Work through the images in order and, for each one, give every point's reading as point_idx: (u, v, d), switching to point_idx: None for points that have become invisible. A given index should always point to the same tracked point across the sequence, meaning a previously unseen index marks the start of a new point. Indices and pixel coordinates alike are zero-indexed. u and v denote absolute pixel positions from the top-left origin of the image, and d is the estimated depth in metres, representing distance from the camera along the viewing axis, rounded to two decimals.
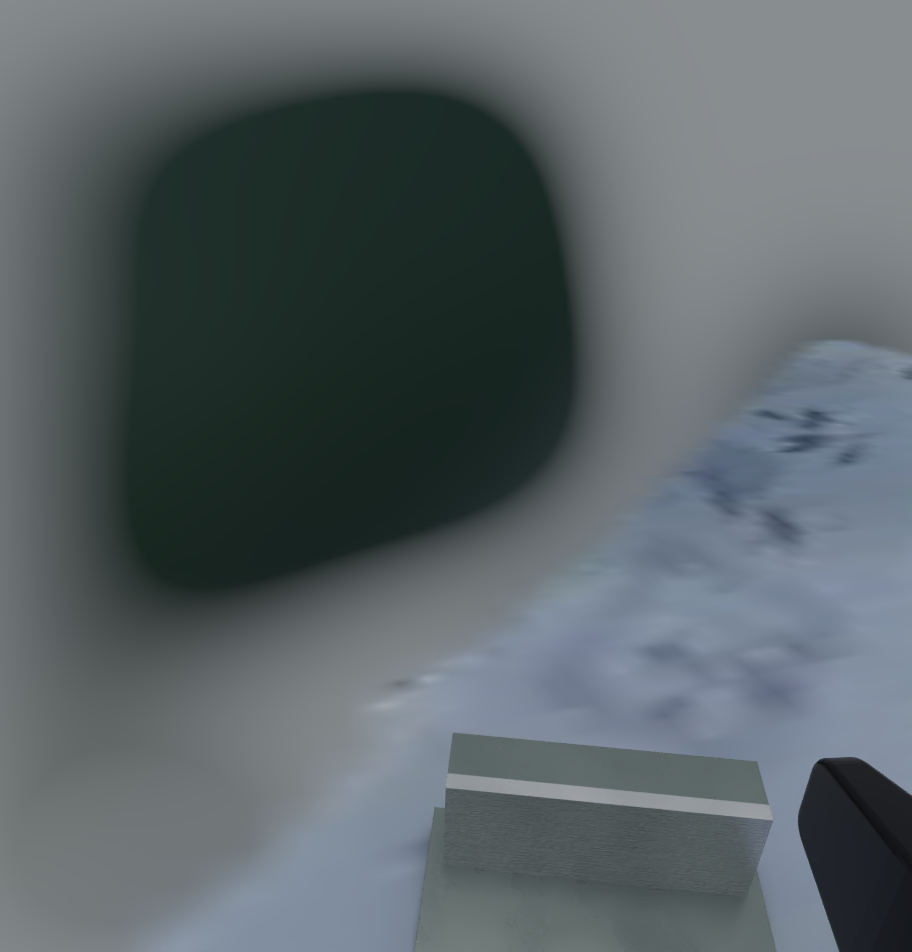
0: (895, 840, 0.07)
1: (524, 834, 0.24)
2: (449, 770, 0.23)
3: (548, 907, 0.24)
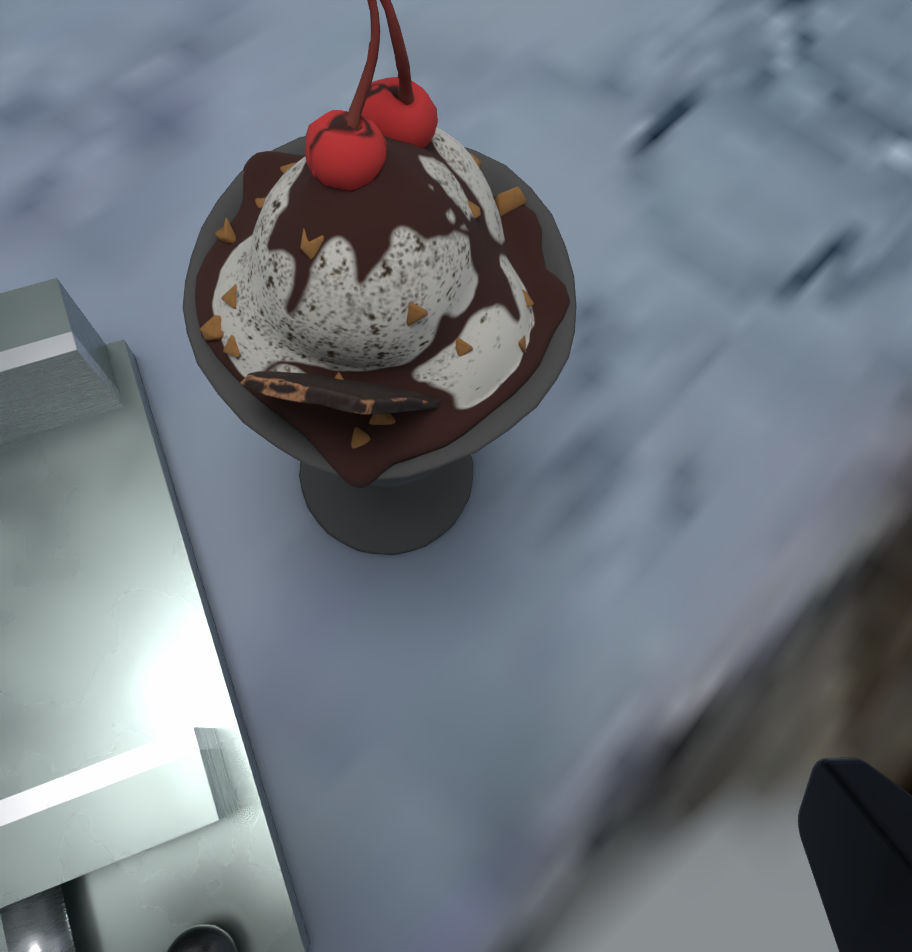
0: (895, 840, 0.07)
1: None
2: None
3: None
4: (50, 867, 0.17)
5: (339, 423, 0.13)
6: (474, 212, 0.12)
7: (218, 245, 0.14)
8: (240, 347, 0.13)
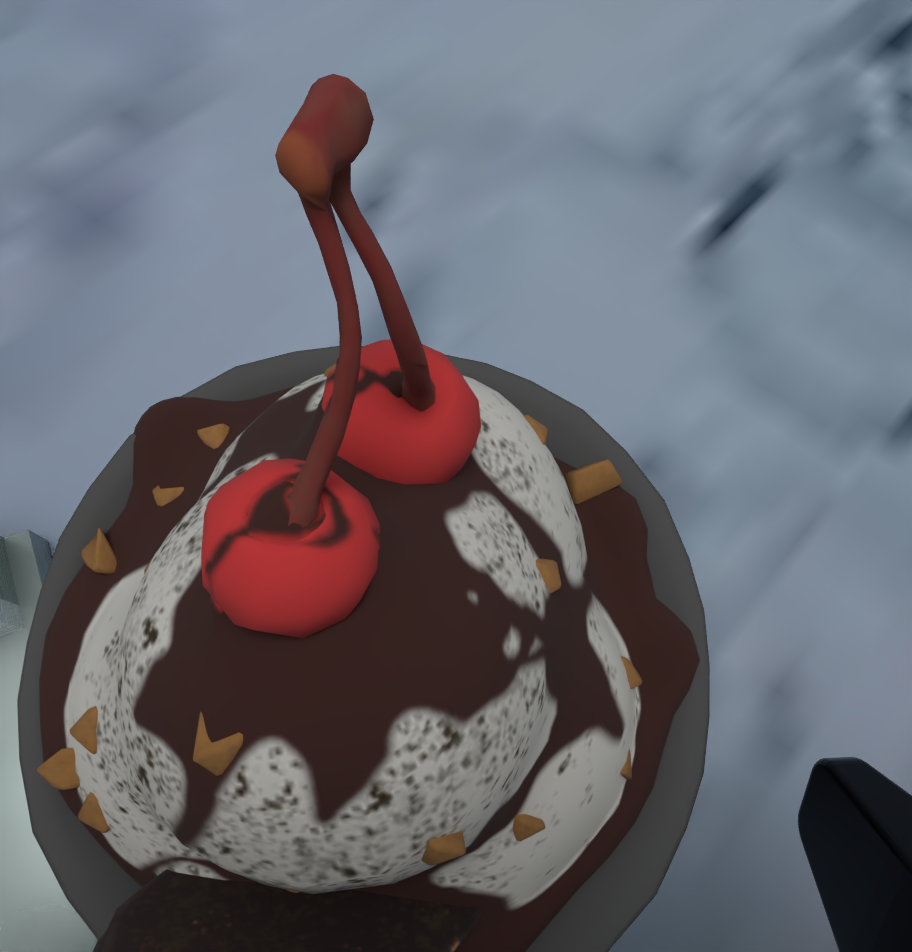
0: (895, 840, 0.07)
1: None
2: None
3: None
4: None
5: None
6: (550, 584, 0.06)
7: (85, 577, 0.08)
8: (108, 816, 0.07)
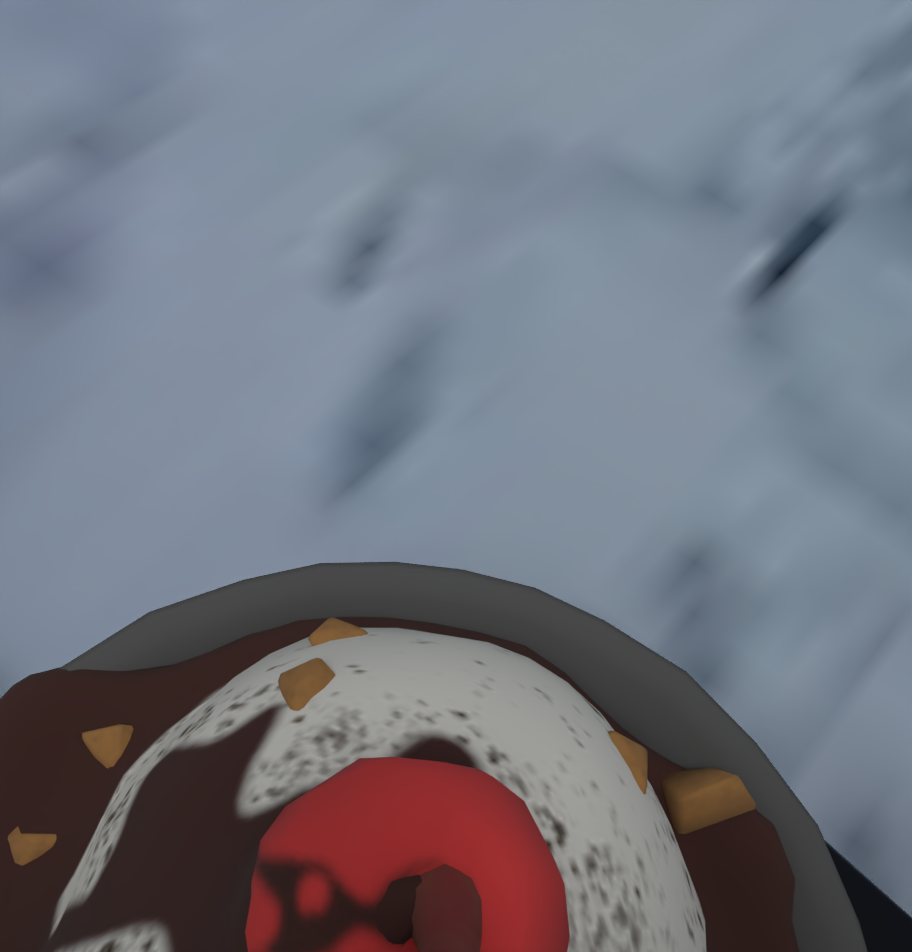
0: None
1: None
2: None
3: None
4: None
5: None
6: None
7: None
8: None
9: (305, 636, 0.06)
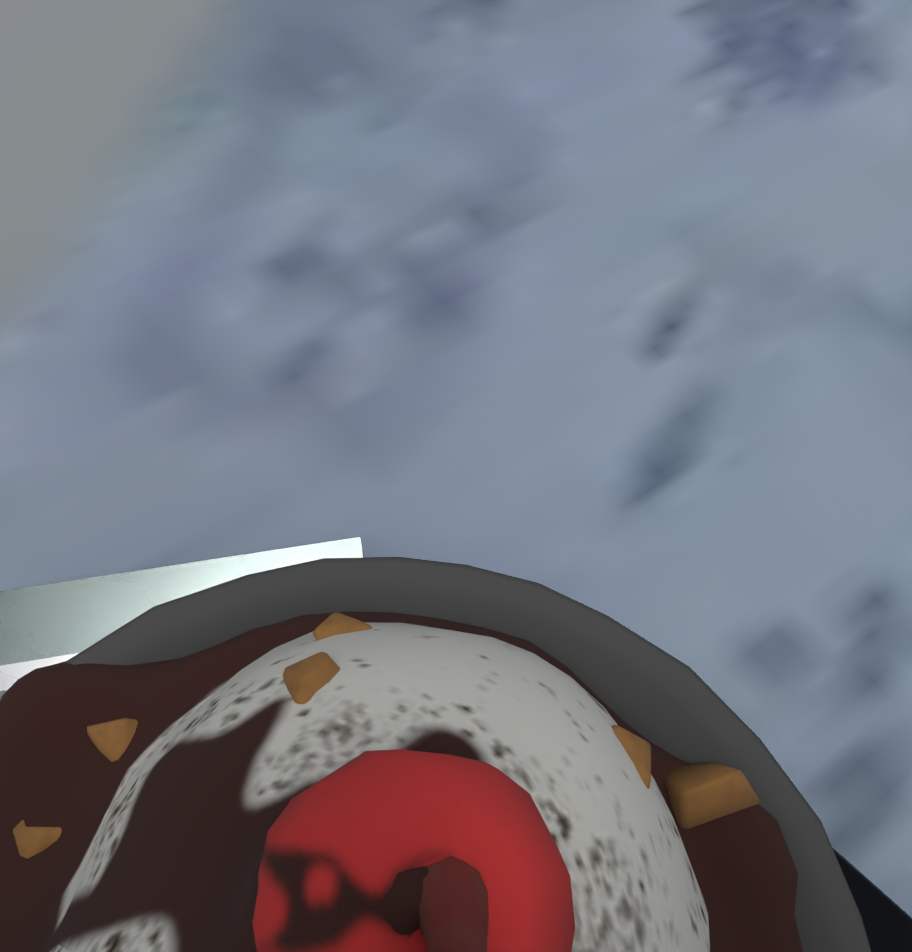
0: None
1: None
2: None
3: None
4: None
5: None
6: None
7: None
8: None
9: (309, 631, 0.06)
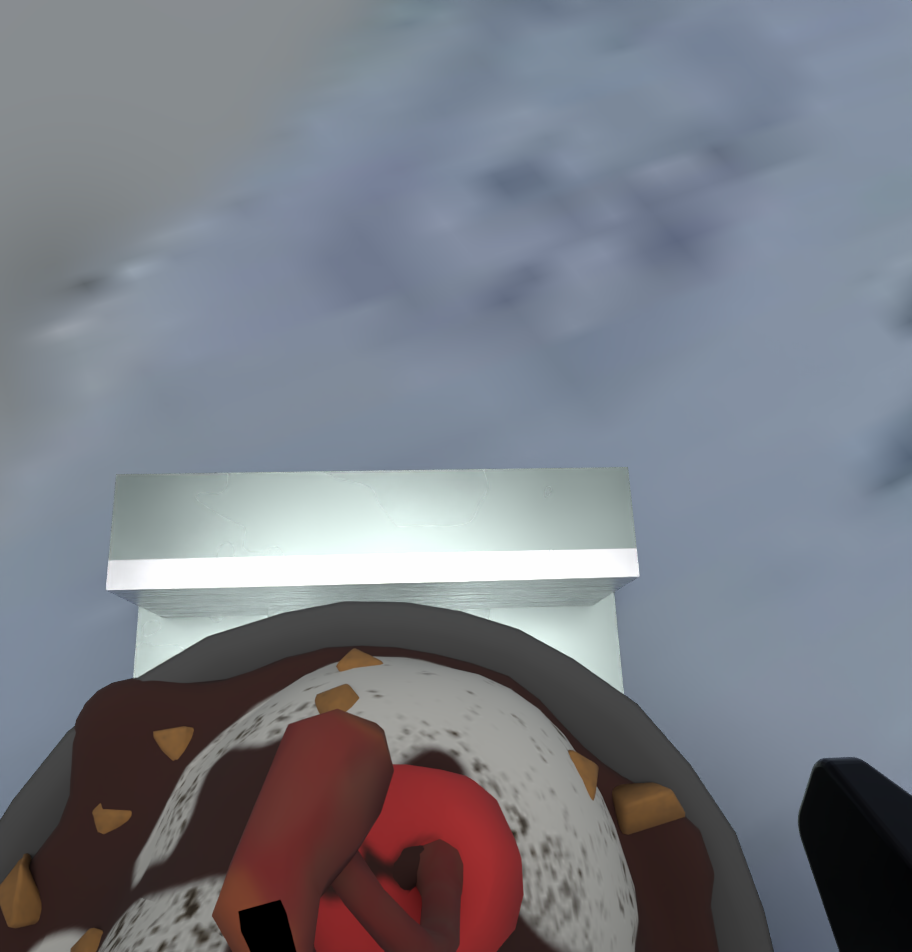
0: (895, 840, 0.07)
1: (263, 601, 0.15)
2: (111, 554, 0.14)
3: None
4: None
5: None
6: None
7: (1, 926, 0.06)
8: None
9: (331, 661, 0.07)
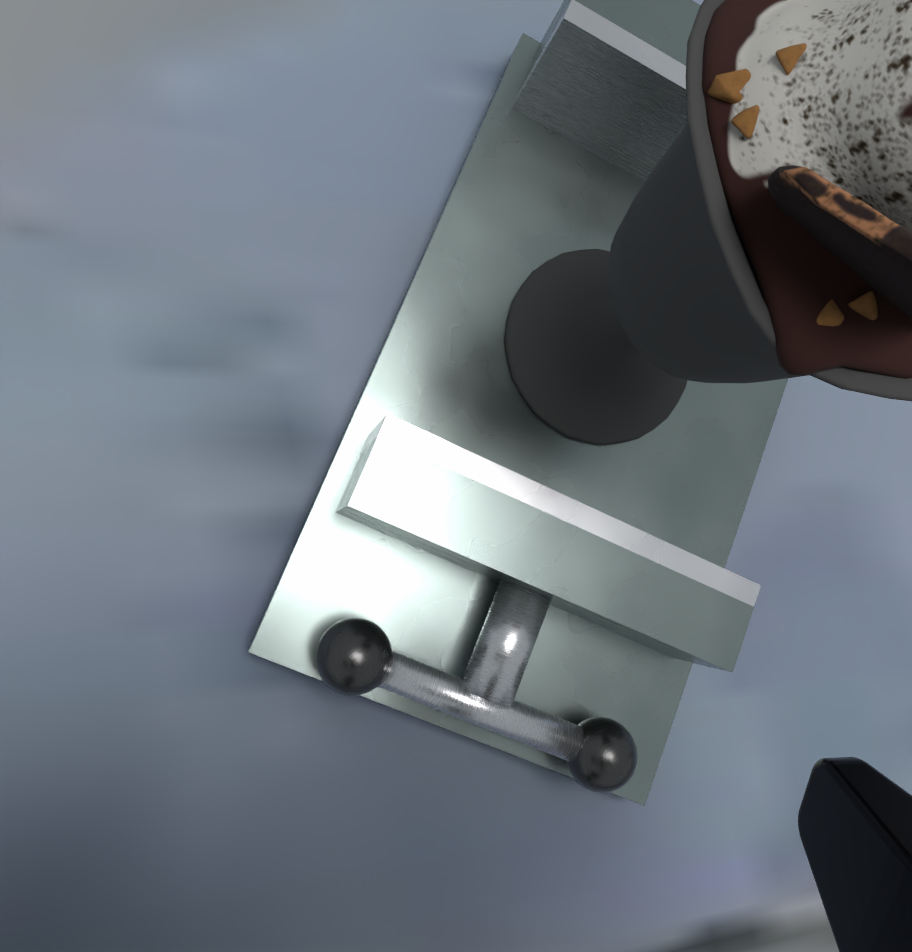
0: (895, 839, 0.07)
1: (623, 115, 0.19)
2: None
3: (608, 200, 0.21)
4: (601, 596, 0.17)
5: (815, 285, 0.10)
6: None
7: None
8: (758, 127, 0.09)
9: None
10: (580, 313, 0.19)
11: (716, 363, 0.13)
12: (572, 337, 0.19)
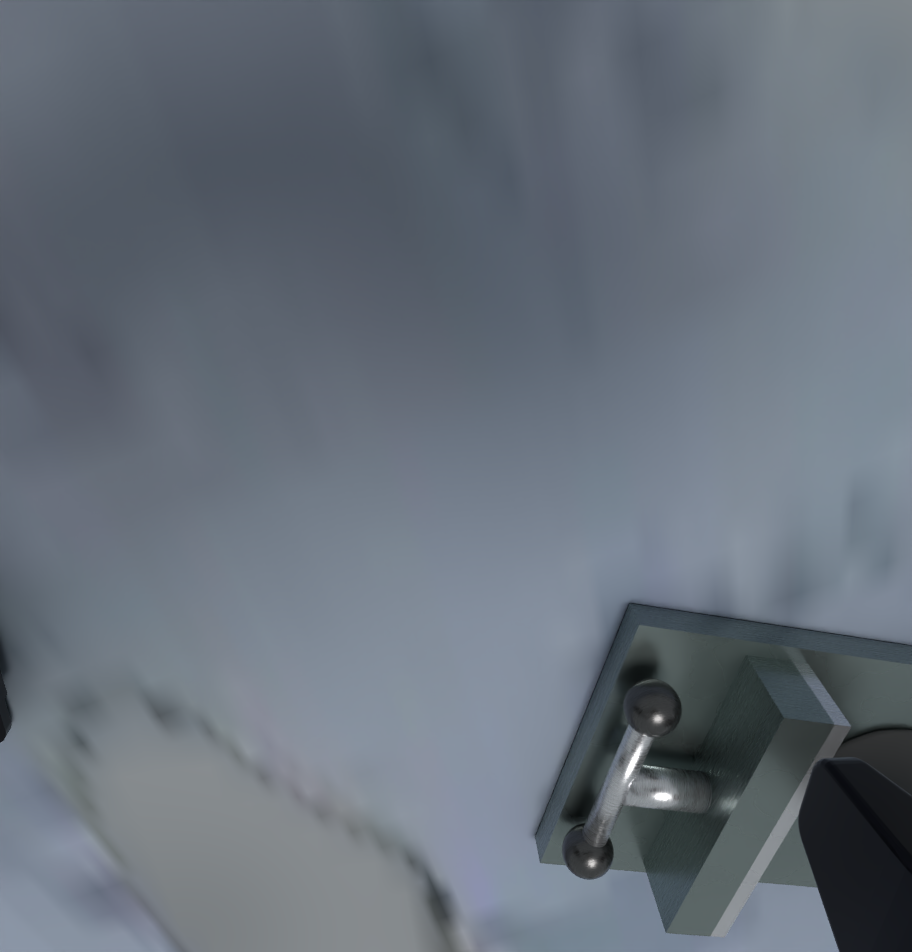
0: (895, 839, 0.07)
1: None
2: None
3: None
4: (717, 861, 0.24)
5: None
6: None
7: None
8: None
9: None
10: (906, 785, 0.25)
11: None
12: None
